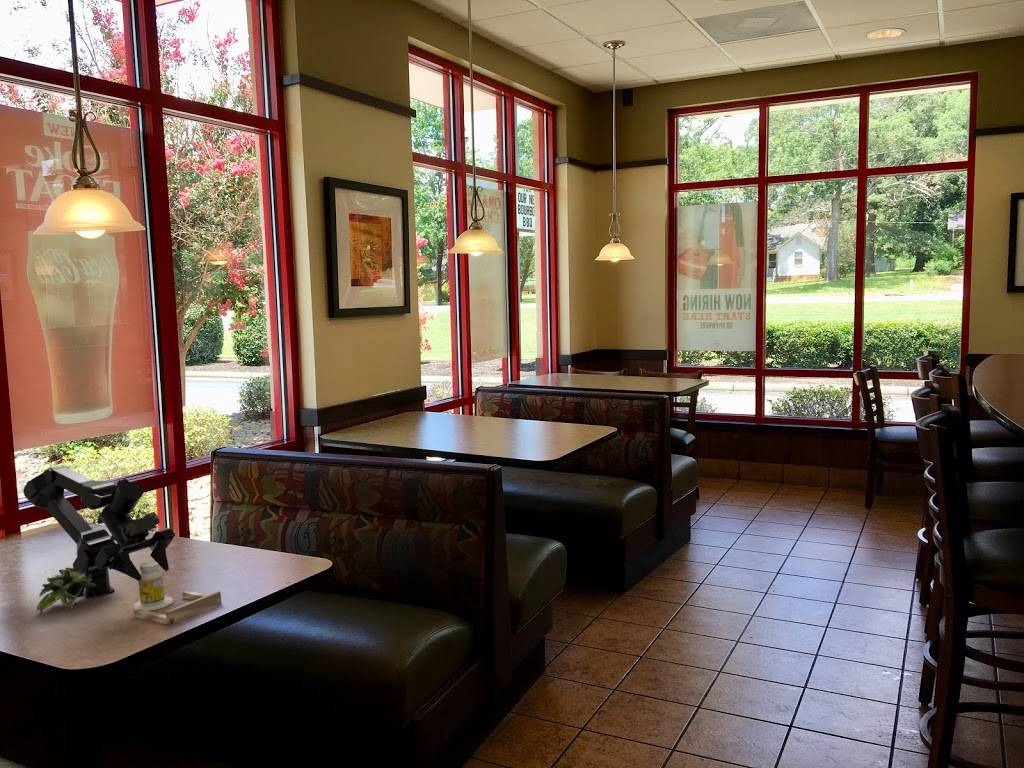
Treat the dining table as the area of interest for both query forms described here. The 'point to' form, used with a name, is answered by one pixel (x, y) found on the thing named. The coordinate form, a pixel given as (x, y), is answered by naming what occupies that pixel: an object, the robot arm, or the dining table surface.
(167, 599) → the coaster
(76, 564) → the robot arm
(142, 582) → the supplement bottle
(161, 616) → the wooden slat frame
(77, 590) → the green leafy plant
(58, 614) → the dining table surface
